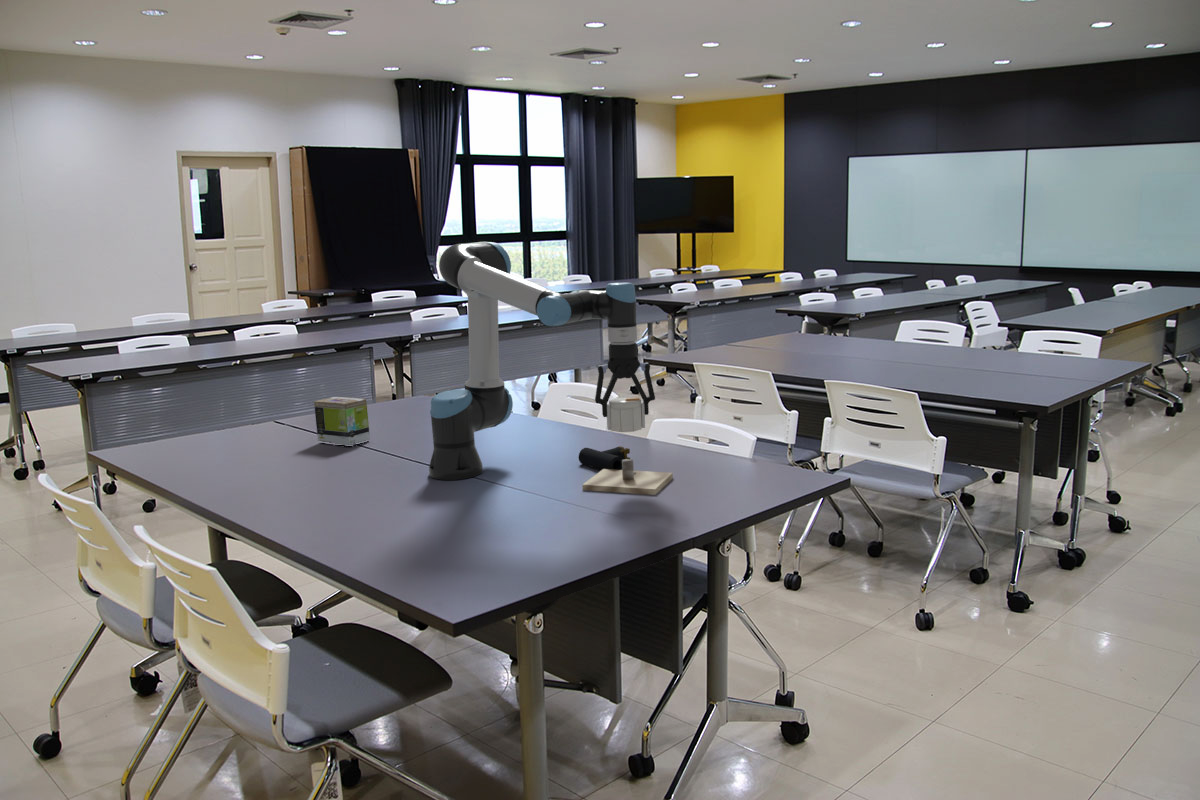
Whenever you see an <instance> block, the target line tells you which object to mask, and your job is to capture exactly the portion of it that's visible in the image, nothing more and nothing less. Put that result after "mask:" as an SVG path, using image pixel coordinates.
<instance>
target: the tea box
mask: <svg viewBox="0 0 1200 800" xmlns="http://www.w3.org/2000/svg"><path fill="white" fill-rule="evenodd" d="M367 402H368V401H367V399H366V398H359V397H346V396H345V397H344V396H343V397H342V396H332V397H328V398H324V399H319V400H314V401H313V404H314V414H315V426H316V435H317V442H318V441H322V442H329V443H335V444H342V445H352V444H356V443H359V442H362V441H366V440H370V441H371V437H370V436H371V435H370V426H369V423H370V422H369V413H368V403H367Z"/></svg>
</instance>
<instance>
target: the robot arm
mask: <svg viewBox="0 0 1200 800" xmlns="http://www.w3.org/2000/svg"><path fill="white" fill-rule="evenodd" d="M511 262H512V261H511V258H510V255H509V254H508V252H507V250H505V249H504V247H503V246H502V245H501V244H499V243H497V242H494V241H493V242H492V241H478V242H465V243H456V244H453V245H450V246H449V247H447V248H446V249H445V250H444V251H443V253H442V254H441V256H440V259H439V262H438V263H439V264H438V268H439V272H440V275H441V277H442V279H443V280H444V282H446V283H447V284H448V285H450V286H453V287H454V288H456V289H459V290H462V291H463V292H464V293H465V295H466V296H467V316H468V317H467V318H468V357H469V358H468V359H469V361H468V362H469V364H468V365H469V378H468V379H467V380H466V381H465V382H464V388H456V389H451V390H445V391H441V392H439V393H437V394H435V395H434V396H433V397H432V398H431V400H430V411H429V414H430V419H431V429H432V430H431V432H432V440H433V441H432V442H433V444H432V445H433V449H432V453H431V454H432V455H431V459H430V462H429V466H428V471H429V472H428V473H429V474H428V475H429V477H430V478H432V479H436V480H441V481H453V480H454V481H455V480H466V479H470V478H474V477H477V476H479V475H481V474H482V473H483V472H484V468H483V463H482V460H481V457H480V455H479V452H478V450H477V448H476V443H475V432H479V431H483V430H486V429H489V428H494V427H497V426H498V425H501V424H503V423H505V422H506V421H507V420H508V419H509V417H511V414H512V412H513V403H514V402H513V397H512V395H511V394H510V391H509V390H508V388H506V387H505V381H504V380H503V379H502V378H500V357H499V356H500V354H499V353H500V350H499V349H500V348H499V347H500V346H499V341H500V339H499V302H502V303H504V304H506V305H509V306H512V307H514V308H517V309H518V310H519V309H520V310H522V311H523V312H526V313H529V314H531V315H534V316H536V317H537V318H538V319H539V321H540V322H541V323H542V324H543V325H545V326H549V327H559V326H562V325H563V326H564V325H565V324H566V325H567V324H571V323H577V322H582V321H588V320H607V339H608V340H607V341H608V342H609V343H608V344H609V345H608V362H607V364H598V365H597V371H598V375H597V383H596V391H595V395H594V401H595V403H596V404H600V405H601V409H602V411H601V412H602V417H603V418H606V425H607V426H606V430H608V431H611V422H610V405H609V401H610V397H611V395H612V392H613V390H614V389H615V385H616V383H617V381H618V379H619V380H621V379H631V380H632V382H633V383H634V386H635V388H636V389H637V391H638V393H639V395H640V397H641V400H642V401H641V421H642V429H645V428H646V417H645V416H647V415H649V413H650V411H649V403H650V402H652V401H655V400H656V396H655V391H654V387H653V384H652V383H653V382H652V378H651V373H650V370H651V364H650V363H649V362H640V361H639V357H638V356H639V355H638V354H639V353H638V352H639V350H638V343H637V340H638V331H637V329H638V328H637V327H638V326H637V298H636V287H635V285H634V283H632V282H610V283H608V284H606V285H605V286H606V287H605V290H587V289H578V290H572V291H571V292H568V293H560V292H557V291H555V290H552V289H550V288H547V287H546V286H545V287H544V286H541V285H539V284H538V283H537V284H536V283H533V282H531V281H529V280H527V279H523V278H521V277H519V276H517V275H513V274H511V271H512V270H511V269H512V263H511ZM639 368H641V371H642V372H643V373H644V378H645V383H646V387H647V391H648V396H647V395H646V393H645V391H644V389H643V387H642V385H641V383H640V381H639V379H638V377H637V375H636V372H637V371H638V370H639ZM608 369H609V371H610V372H611V374H612V375H611V378H610V379H609V380H610V381H609V383H608V385H607V388H606V390H605V393H604V395H603V397H602V390H603V385H604V379H605V378H604V376H605V375H604V374H606V373H607V370H608Z"/></svg>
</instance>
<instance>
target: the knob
mask: <svg viewBox="0 0 1200 800" xmlns="http://www.w3.org/2000/svg"><path fill="white" fill-rule="evenodd" d="M641 402H642V398H640V397H619V398H613V399H609V400H608V404H609V405H610V422H611V430H610V431H611V432H617V433H631V432H632V433H633V432H636V431H637V432H638V431H641V430H642V429H643V428H642V421H641Z"/></svg>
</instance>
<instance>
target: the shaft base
mask: <svg viewBox="0 0 1200 800" xmlns="http://www.w3.org/2000/svg"><path fill="white" fill-rule="evenodd" d="M673 475H674V474H673V472H664V471H663V472H662V471H647V470H646V471H645V470H644V471H643V470H634V459H631V458H630V459H624V460H622V470H614V469H603V470H600V471H598V472H597V473H596V474H595V475H593V476H592V477H591V478H589V479H588V480H587V481H585V482H584V483H583V484H582V491H594V492H605V493H606V492H607V493H618V494H619V493H621V494H637V495H653V496H656V495H657V494H658V493H659V492H660V491H661V490H662V489H663V488H664V487H666V486H667V485H668V483H669V482H670V481H671V480H673V477H674V476H673Z"/></svg>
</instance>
